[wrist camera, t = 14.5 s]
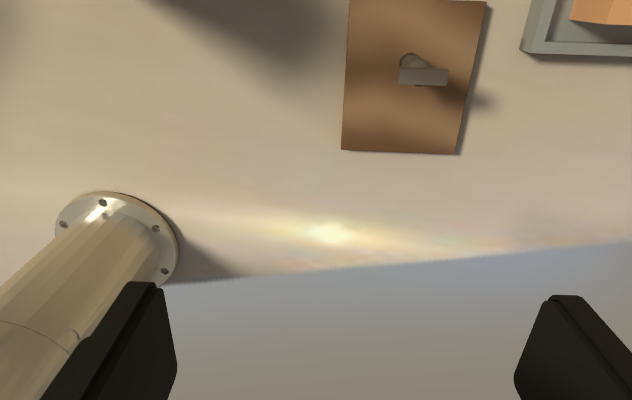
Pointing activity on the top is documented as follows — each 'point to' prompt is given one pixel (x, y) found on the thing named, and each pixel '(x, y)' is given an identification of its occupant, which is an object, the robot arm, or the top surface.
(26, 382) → the robot arm
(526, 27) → the tray
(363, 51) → the brown board with hook
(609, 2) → the ring
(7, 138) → the top surface
